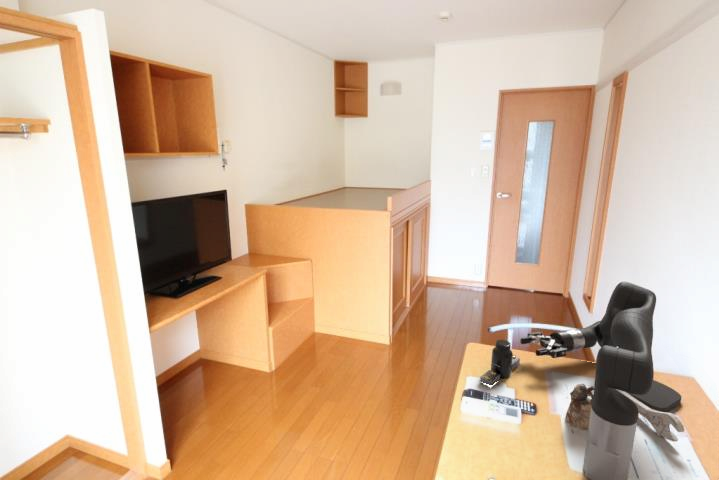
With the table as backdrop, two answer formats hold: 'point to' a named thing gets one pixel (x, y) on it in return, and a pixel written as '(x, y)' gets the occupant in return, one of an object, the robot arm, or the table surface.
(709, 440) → the table surface
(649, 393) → the media streaming box
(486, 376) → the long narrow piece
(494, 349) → the supplement bottle
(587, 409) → the figurine
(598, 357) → the robot arm
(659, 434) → the wrench
